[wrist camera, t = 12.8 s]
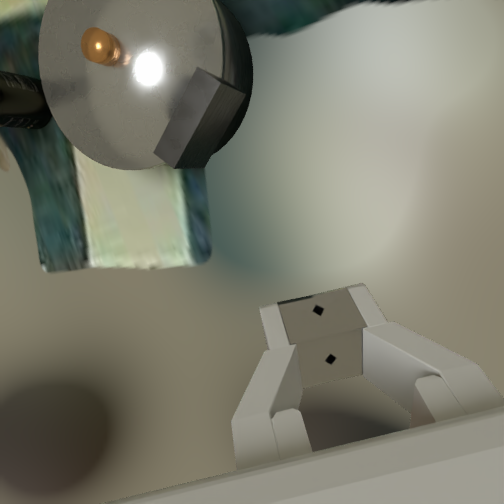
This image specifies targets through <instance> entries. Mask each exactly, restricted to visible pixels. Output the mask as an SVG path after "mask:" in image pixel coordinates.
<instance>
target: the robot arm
mask: <svg viewBox="0 0 504 504" xmlns="http://www.w3.org/2000/svg"><path fill="white" fill-rule="evenodd" d="M259 309H260V314H261V319H262V324H263V329H264V334H265V339H266V344H267V349H268V350H267V351H264V353H263V356H262V357H261V360H260V362H259V364H258V366H257V368H256V370H255V372H254V375H253V377H252V379H251V381H250V383H249V385H248V387H247V389H246V391H245V393H244V395H243V397H242V400H241V402H240V404H239V406H238V408H237V410H236V412H235V414H234V416H233V419H232V421H231V424H232V433H233V442H234V449H235V459H236V467H237V471H233V472H229V473H225V474H221V475H216V476H213V477H208V478H204V479H200V480H196V481H192V482H187V483H184V484H180V485H175V486H171V487H167V488H163V489H159V490H155V491H151V492H146V493H142V494H138V495H134V496H130V497H126V498H122V499H118V500H114V501H109V502H105V503H101V504H504V398H503V396H502V395H501V394H500V392H499V391H498V390H497V389H496V387H495V386H494V385H493V383H492V382H491V381H490V380H489V378H488V377H487V376H486V374H485V373H484V372H483V371H482V369H481V368H480V367H479V366H478V364H477V363H475V362H473V361H471V360H469V359H467V358H465V357H463V356H461V355H459V354H457V353H455V352H453V351H451V350H449V349H447V348H445V347H443V346H441V345H439V344H438V343H436V342H433V341H432V340H430V339H428V338H426V337H424V336H422V335H420V334H418V333H416V332H414V331H412V330H410V329H408V328H406V327H404V326H402V325H400V324H398V323H396V322H394V321H392V322H388V321H387V319H386V318H385V316H384V314H383V313H382V311H381V310H380V308H379V306H378V305H377V303H376V302H375V300H374V299H373V297H372V295H371V294H370V292H369V290H368V289H367V287H366V285H365V284H363V283H359V284H355V285H351V286H347V287H345V288H339V289H335V290H331V291H327V292H323V293H318V294H314V295H311V296H306V297H301V298H296V299H291V300H286V301H282V302H277V303H274V304H268V305H263V306H260V307H259ZM359 375H363V377H364V378H366V379H367V380H368V381H370V382H371V383H372V384H374V385H375V386H376V387H377V388H379V389H380V390H381V391H382V392H384V393H385V394H386V395H388V396H389V397H390V398H391V399H393V400H394V401H395V402H397V403H398V404H399V405H400V406H402V407H403V408H404V409H405V410H407V411H408V412H409V413H411V419H410V427H409V429H407V430H403V431H399V432H395V433H390V434H386V435H382V436H378V437H374V438H370V439H366V440H362V441H358V442H354V443H350V444H345V445H341V446H337V447H333V448H328V449H324V450H320V451H316V452H312V449H311V446H310V442H309V439H308V436H307V432H306V429H305V426H304V422H303V420H302V416H301V412H300V411H298V407H299V403H300V400H301V397H302V393H303V389H305V388H308V387H312V386H316V385H319V384H323V383H327V382H331V381H335V380H340V379H345V378H349V377H355V376H359Z"/></svg>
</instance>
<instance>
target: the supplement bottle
mask: <svg viewBox="0 0 504 504" xmlns="http://www.w3.org/2000/svg"><path fill="white" fill-rule="evenodd" d="M50 116H51V111H50V108H49V106H48V103H47V101H46V97H45V94H44V91H43V87H42V82H41V81H39V80H37V79H35V78H32V77H28V76H24V75H19V74H14V73H9V72H5V71H0V127H14V128H28V129H37V128H40V127H42V126H44V125H45V124H46V123H47V122H48V120H49V119H50Z"/></svg>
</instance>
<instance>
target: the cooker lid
mask: <svg viewBox="0 0 504 504" xmlns="http://www.w3.org/2000/svg"><path fill="white" fill-rule="evenodd" d="M39 69H40V77H41V82H42V87H43V91H44V94H45V97H46V101H47V103H48V106H49V108H50V111H51V113H52V115H53V117H54V119H55V121H56V122H57V124H58V126H59V127H60V129H61V130H62V132H63V133H64V135H65V136H66V137H67V138H68V139H69V141H70V142H71V143H72V144H73V145H74V146H75V147H76V148H77V149H79V150H80V151H81V152H82V153H83V154H85V155H86V156H88V157H89V158H91V159H92V160H94V161H96V162H98V163H100V164H102V165H105V166H108V167H111V168H116V169H122V170H143V169H150V168H154V167H157V166H160V165H163V164H165V163H167V164H168V165H170V166H171V167H172V168H174V169H183V168H205V166H206V164H207V162H208V161H209V159H210V157H211V155H212V154H213V152H214V150H215V148H216V147H217V145H218V143H219V142H220V140H221V138H222V136H223V135H224V133H225V131H226V129H227V128H228V126H229V124H230V122H231V121H232V119H233V117H234V115H235V114H236V112H237V110H238V108H239V107H240V105H241V103H242V102H243V100H244V98H245V96H246V94H245V93H243V92H242V91H240V90H239V89H238V88H236V87H235V86H233V85H232V84H230V83H229V82H228V81H226V80H224V73H225V40H224V32H223V27H222V23H221V19H220V15H219V12H218V10H217V7H216V4H215V1H214V0H48V3H47V5H46V9H45V12H44V15H43V19H42V24H41V29H40V37H39Z"/></svg>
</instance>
